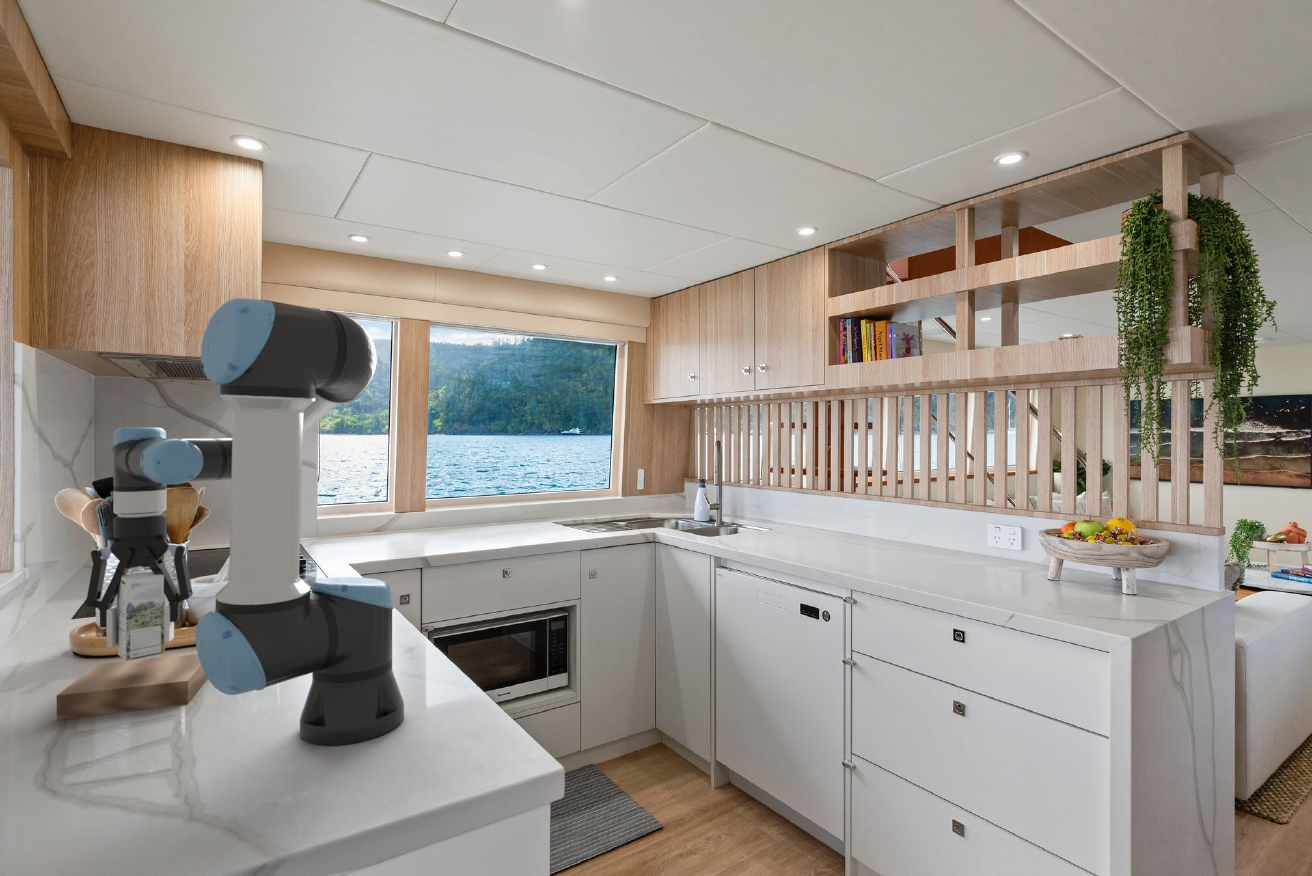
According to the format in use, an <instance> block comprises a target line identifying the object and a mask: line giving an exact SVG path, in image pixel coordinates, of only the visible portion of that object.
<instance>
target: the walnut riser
mask: <svg viewBox="0 0 1312 876" xmlns="http://www.w3.org/2000/svg"><path fill="white" fill-rule="evenodd" d="M207 680H209V679H208V678H207V676H206V674H205V672H204V670H203V668H202V666H201V663H200V660H199V657H198V653H192V654H182V655H173V656H163V657H152V658H145V659H144V658H141V659H133V660H128V661H126V660H123V661H112V662H103V663H97V664H96V665H95V666H93V667H92V668H90V669H89V670H88V671H86V673H84V674H82V675H81V676H80V677H79V678H77V679H76V680H74V682H72V683H71V684H70V685H68V686H67V687H66V688H63V690H62V691H60V692H59V693H58V694H56V721H61V720H67V719H74V718H75V719H76V718H84V717H93V716H101V715H109V714H117V713H125V712H134V711H142V710H151V709H158V708H159V709H161V708H167V707H174V706H175V707H176V706H181V705H182V706H183V705H189V704H190V703H191V701H192V700H193V698H194V697H195V696H196V695H197V694H198V692H199V691H200V690H201V688H202V687H203V686H204V684H205V683H206V682H207Z"/></svg>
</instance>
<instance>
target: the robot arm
mask: <svg viewBox="0 0 1312 876" xmlns="http://www.w3.org/2000/svg"><path fill="white" fill-rule="evenodd" d="M202 337H203V338H202V342H201V351H200V360H201V361H200V362H201V365H202V366H203V369H202V370H203V373H204V375H205V377H206V378H207V379H208V380H209V381H211V382H213V383H214V384H217V385H220V386H219V397H220V398H221V399H222V400H223V401H224V402H225V403H226V404H227V405H228V406H229V407H230V408H231V410H232V431H231V432H232V433H231V438H177V437H176V438H168V437H167V432H166V430H165V429H164V428H162V427H118V428H117V429H115V430H114V431H113V440H112V446H111V450H112V461H113V462H112V465H113V466H112V467H113V469H112V470H113V473H112V474H113V476H112V478H113V484H112V485H113V504H112V505H113V509H112V510H113V514H115V515H117V516H115V517H114V518H113V542H112V544H111V545H110V546H109V547H98V548H96V549H93V550H91V552H90V556H91V560H92V568H91V574H90V578H89V584H88V591H87V595H86V601H85V606H86V607H88V608H96V609H98V610H99V626H100V628H102V629H103V628H105V629H106V648H107V649H108V648H113V647H114V646H115V645H117V605H115V606H113V605H114V604H115V603H114V601H115V600H116V599H117V598H116V597H117V592H118V588H119V584H120V581H121V578H122V575H124V574H127V573H129V571H130V570H131V569H134V568H139V567H141V568H149V569H150V570H151V571H153V572H154V574H155V575H160V574H162V575H165V576H164V593H165V598H166V599H167V603H166V604H165V606H164V642H165V643H169V642H171V641H172V640H173V639H174V638H175V622H178V621H179V620H180V619H181V602H183V601H187V600H188V599H190V598H191V597H192V596H193V589H192V583H191V578H190V572H189V571H190V570H189V567H188V561H187V553H188V550H189V549H188V547H189V545H188V544H186V543H182V544H176V543H171V542H170V541H169V539H168V537H167V536H168V533H167V532H168V530H167V529H168V528H167V527H168V519H167V518H168V517H167V515H166V514H165V513H163V512H165V511H167V508H168V507H167V499H168V498H167V497H168V496H167V495H168V494H167V486H170V485H180V484H184V483H185V484H186V483H194V482H195V483H197V482H211V481H226V480H227V481H229V480H230V482H231V483H230V485H231V486H230V517H229V518H230V519H229V520H230V523H229V524H230V525H229V528H230V529H229V532H230V533H229V568H228V573H229V574H228V575H229V577H228V582H227V584H225V585H224V586H223V587H222V588H221V589H220V590H219V591H218V592H216V594H215V607H214V610H215V611H213V610H212V611H208V612H207V613H206V614H203V615H202V616H201V617H200V618H199V620H198V621H197V624H196V628H195V646H196V651H197V652H196V654H198V657H199V660H200V663H201V666H202V668H203V670H204V672H205V674H206V676H207V678H208V679H207V680H208V681H209V682H210V683H211V685H212V686H213V687H214V688H215V689H217V690H218V691H219V692H220V693H222V694H224V695H228V696H236V695H237V696H238V695H242V694H245V693H249V692H253V691H261V690H264V689H265V688H268V687H272V686H274V685H277V684H280V683H284V682H288V681H289V680H293V679H296V678H299V677H303V676H306V675H309V674H312V679H311V683H310V684H311V685H310V687H309V690H308V693H307V696H306V700H305V702H304V705H303V709H302V711H301V714H300V719H299V736H300V737H301V739H302V740H304V741H306V742H308V743H311V744H314V745H316V744H317V745H324V746H325V745H326V746H328V745H329V746H338V745H348V744H349V745H350V744H355V743H361V742H363V741H368V740H371V739H374V738H377V737H380V736H382V735H385V734H387V733H389V732H391V731H392V730H394V729H395V728H397V727H398V726H400V725H401V723H402V722H403V721H404V718H405V702H404V699H403V696H402V693H401V690H400V687H399V686H398V683H397V680H396V677H395V673H394V671H393V610H394V606H393V605H394V604H393V596H392V595H393V593H392V588H391V586H390V585H389V584H388V583H387V582H386V581H383V580H381V579H376V578H369V577H356V576H355V577H354V576H353V577H352V576H351V577H349V576H347V577H346V576H340V577H339V576H338V577H335V576H334V577H325V578H318V579H314V580H313V581H312V584H311V585H309V584H308V583H307V582H306V581H304V580H303V579H302V578H301V576H300V558H301V557H300V554H301V551H300V549H301V522H302V521H301V514H302V512H301V509H302V483H303V482H302V479H303V478H302V476H303V475H302V472H303V438H304V435H305V434H306V433H307V432H308V431H309V430H310V429H312V428H313V427H314V426H316V424H317V423H318V422H320V421H321V420H322V419H323V418H324V417H325V416H326V415H327V414H329V412H331V411H332V410H333V409H334V408H335V407H336V406H338V405H341V404H343V405H344V404H347V403H350V402H351V401H353V400H354V399H356V398H357V397H358V396H359V395H360V394H361V393H362V392H363V391H364V390H365V389H366V388H367V387H368V385H369V384H370V383H371V381H372V380H373V376H374V374H375V372H376V367H377V351H376V347H375V344H374V341H373V340H372V338H371V336H370V334H369V333H368V331H367V330H366V329H365V328H364V327H363V326H362V324H360V323H359V322H358V321H356V320H355V319H354V318H352V317H350V316H347V315H346V314H343V313H342V312H341V313H340V312H338V311H333V310H322V309H317V308H312V307H305V306H301V305H295V304H292V303H291V304H290V303H284V302H280V301H279V302H278V301H273V300H269V299H255V298H242V297H239V298H238V297H236V298H231V299H229V300H227V301H225V302H223V303H222V304H221V305H219V307H217V309H216V310H215V311H214V312H213V315H212V316H210V319H209V320H208V322H207V325H206V328H205V330H204V333H203V336H202ZM167 551H169V552H170V555H171V556H172V557H173V562H174V569H175V572H176V573H175V574H176V578H177V583H178V584H177V585H178V588H177V587H176V585H175V582H174V581H173V579H172V577H171V574H170V573H169V571H168V569H167V567H166V563H165V560H164V559H163V556H164V555H165V554H166V553H167ZM111 554H112V555H114V557H115V558H116V559H117V560H118V561H119V562H118V564H117V566H116V568H115V572H114V573H113V576H112V579H110V583H109V585H108V586H107V589H106V591H105V592H104V595H103V597H102V593H103V587H104V582H105V581H104V580H105V576H106V571H107V566H108V565H107V564H108V560H109V559H111ZM178 589H179V591H178Z"/></svg>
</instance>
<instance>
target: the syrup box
mask: <svg viewBox="0 0 1312 876" xmlns="http://www.w3.org/2000/svg"><path fill="white" fill-rule="evenodd" d="M164 576H165V575H162V574H160V575H155V574H154V572H153V571H151V569H150V570H143V571H135V572H128V573H127V574H124V575H122V578H121V581H120V584H119V588H118V592H117V596H116V597H117V598H116V600H117V602H116V603H117V605H116V606H117V644H116V646H117V647H116V649H117V651H116V652H117V656H119V657H120V658H122V659H123V661H132V660H139V659H144V658H147V657H151V656H156V655H161V654H164V653H165V648H166V647H165V646H166V645H165V644H166V642H164V606H165V605H166V604H165V603H166V601H165V599H166V595H165V593H164Z"/></svg>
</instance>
